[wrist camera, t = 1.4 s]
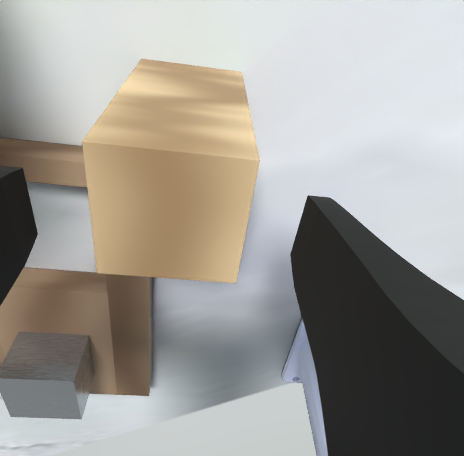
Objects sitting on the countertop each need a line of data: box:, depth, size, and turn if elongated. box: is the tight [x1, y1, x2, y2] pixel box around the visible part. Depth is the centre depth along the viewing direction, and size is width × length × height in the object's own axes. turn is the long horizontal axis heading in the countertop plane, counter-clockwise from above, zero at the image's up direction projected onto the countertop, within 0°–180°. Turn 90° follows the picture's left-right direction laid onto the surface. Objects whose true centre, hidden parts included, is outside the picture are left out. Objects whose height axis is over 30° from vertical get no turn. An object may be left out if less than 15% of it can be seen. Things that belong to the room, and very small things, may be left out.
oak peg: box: [82, 59, 260, 283], centre depth 13 cm, size 4×4×8 cm
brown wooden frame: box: [0, 138, 153, 396], centre depth 21 cm, size 11×18×2 cm, turn 173°
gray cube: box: [0, 331, 95, 419], centre depth 23 cm, size 4×4×4 cm
